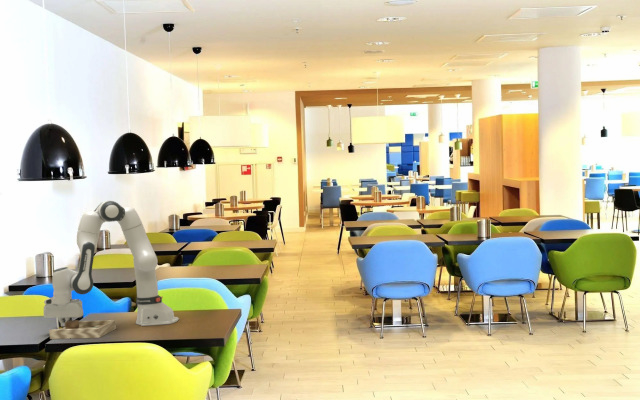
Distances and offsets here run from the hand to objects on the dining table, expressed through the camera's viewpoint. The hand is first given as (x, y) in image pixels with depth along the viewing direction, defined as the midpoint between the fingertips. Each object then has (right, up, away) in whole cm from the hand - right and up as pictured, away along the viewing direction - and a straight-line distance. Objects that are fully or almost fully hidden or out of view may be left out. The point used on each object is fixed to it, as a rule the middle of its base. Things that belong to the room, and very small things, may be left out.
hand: (64, 326), depth 372 cm
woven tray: (+10, -4, -1) cm, 11 cm away
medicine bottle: (-6, -4, +18) cm, 20 cm away
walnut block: (+4, -1, -1) cm, 5 cm away
